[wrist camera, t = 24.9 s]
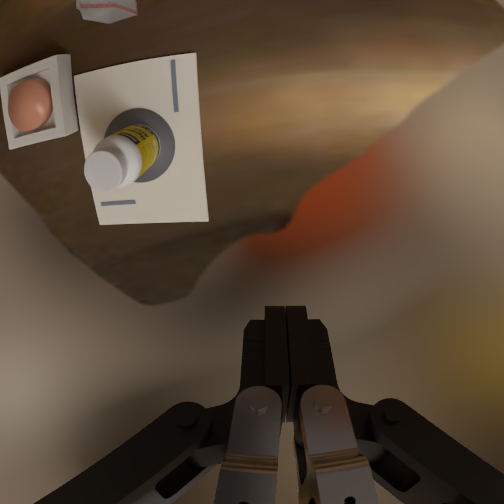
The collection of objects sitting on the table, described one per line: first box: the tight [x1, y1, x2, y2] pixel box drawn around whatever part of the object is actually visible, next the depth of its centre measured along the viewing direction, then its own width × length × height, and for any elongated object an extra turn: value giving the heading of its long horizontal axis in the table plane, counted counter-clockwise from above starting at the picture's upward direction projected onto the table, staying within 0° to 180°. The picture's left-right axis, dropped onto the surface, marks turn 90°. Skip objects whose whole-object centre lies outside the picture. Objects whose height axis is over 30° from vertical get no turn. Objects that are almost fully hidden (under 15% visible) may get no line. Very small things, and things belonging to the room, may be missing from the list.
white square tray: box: [0, 54, 78, 150], centre depth 30 cm, size 10×10×3 cm
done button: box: [8, 78, 53, 131], centre depth 28 cm, size 6×6×2 cm
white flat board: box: [74, 53, 209, 225], centre depth 34 cm, size 20×15×1 cm
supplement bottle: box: [84, 124, 161, 192], centre depth 30 cm, size 5×5×10 cm
